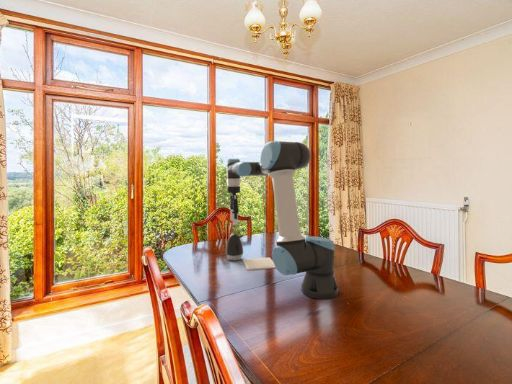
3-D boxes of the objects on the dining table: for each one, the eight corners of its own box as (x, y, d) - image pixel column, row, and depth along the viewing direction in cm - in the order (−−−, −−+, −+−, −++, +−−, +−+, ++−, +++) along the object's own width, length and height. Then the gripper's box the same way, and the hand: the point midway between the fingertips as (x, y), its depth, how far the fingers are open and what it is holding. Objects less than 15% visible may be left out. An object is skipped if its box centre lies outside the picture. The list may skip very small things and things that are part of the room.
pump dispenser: (243, 261, 160) (242, 235, 159) (224, 261, 160) (224, 235, 159) (244, 256, 170) (243, 231, 169) (227, 256, 171) (226, 231, 170)
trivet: (276, 267, 150) (276, 266, 150) (247, 270, 147) (247, 268, 147) (269, 258, 165) (269, 257, 165) (242, 260, 162) (242, 259, 162)
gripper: (243, 187, 151) (243, 226, 153) (237, 184, 175) (237, 218, 177) (229, 187, 149) (229, 227, 151) (225, 184, 174) (225, 218, 176)
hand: (234, 222), depth 164 cm, fingers open, 13 cm apart
